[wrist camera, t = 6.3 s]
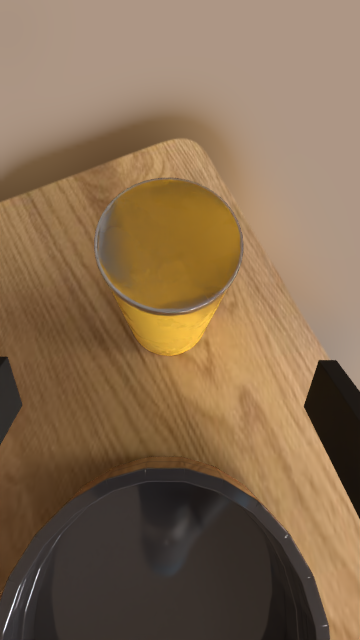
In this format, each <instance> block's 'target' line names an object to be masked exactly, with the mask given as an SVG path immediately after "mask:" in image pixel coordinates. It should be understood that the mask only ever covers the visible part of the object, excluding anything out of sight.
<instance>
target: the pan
mask: <svg viewBox="0 0 360 640" xmlns="http://www.w3.org/2000/svg"><path fill="white" fill-rule="evenodd" d="M0 640H330V634H329V625H328V621H327V618H326V614H325V611H324V608H323V605H322V602H321V598H320V595H319V592H318V589H317V585H316V582H315V579H314V576H313V574H312V572H311V570H310V569H309V567H308V565H307V563H306V561H305V560H304V558H303V556H302V554H301V553H300V551H299V549H298V547H297V546H296V544H295V542H294V540H293V539H292V537H291V535H290V534H289V533H288V531H287V530H286V529H285V528H284V527H283V526H282V525H281V524H280V523H279V521H278V520H277V519H276V518H275V517H274V516H273V515H272V514H271V513H270V512H269V511H268V510H267V508H266V507H265V506H264V505H263V504H262V503H261V502H260V501H259V500H258V499H257V498H256V497H255V496H254V495H253V494H252V492H251V491H250V490H249V489H248V488H247V487H246V486H245V485H244V484H242V483H241V482H239V481H238V480H236V479H234V478H233V477H231V476H230V475H228V474H226V473H225V472H223V471H222V470H220V469H218V468H217V467H214V466H212V465H209V464H206V463H202V462H199V461H195V460H192V459H188V458H185V457H146V458H142V459H139V460H135V461H132V462H128V463H125V464H121V465H118V466H115V467H113V468H112V469H110V470H108V471H107V472H105V473H103V474H102V475H100V476H98V477H97V478H95V479H93V480H92V481H90V482H88V483H87V484H85V485H84V486H83V487H82V488H81V489H80V490H79V491H78V492H77V493H76V494H75V495H74V496H73V497H72V498H71V499H70V500H69V501H68V502H67V503H66V504H65V505H64V506H63V507H62V508H61V509H60V510H59V511H58V512H57V513H56V514H55V515H54V516H53V517H52V518H51V519H50V520H49V521H48V522H47V523H46V524H45V525H44V526H43V527H42V528H41V529H40V530H39V531H38V532H37V533H36V535H35V536H34V537H33V539H32V541H31V542H30V544H29V545H28V547H27V549H26V550H25V552H24V553H23V555H22V557H21V558H20V560H19V561H18V563H17V565H16V566H15V568H14V569H13V571H12V573H11V574H10V576H9V578H8V580H7V583H6V585H5V588H4V591H3V594H2V597H1V599H0Z"/></svg>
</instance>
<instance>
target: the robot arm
mask: <svg viewBox="0 0 360 640" xmlns="http://www.w3.org/2000/svg"><path fill="white" fill-rule="evenodd" d="M21 407H22V402H21V398H20V395H19V392H18V389H17V385H16V382H15V379H14V376H13V373H12V369H11V366H10V363H9V360H8V357H0V444H1V443H2V441H3V439H4V437H5V435H6V434H7V432H8V430H9V428H10V427H11V425H12V423H13V421H14V419H15V418H16V416H17V414H18V412H19V410H20V409H21ZM304 408H305V410H306V412H307V414H308V416H309V418H310V420H311V422H312V424H313V426H314V428H315V430H316V432H317V434H318V436H319V438H320V440H321V442H322V444H323V446H324V448H325V450H326V452H327V454H328V456H329V458H330V460H331V462H332V464H333V466H334V468H335V470H336V472H337V474H338V476H339V478H340V480H341V482H342V484H343V486H344V488H345V490H346V492H347V494H348V496H349V498H350V500H351V502H352V504H353V506H354V508H355V510H356V512H357V514H358V516H359V518H360V391H359V390H358V389H357V387H356V386H355V385H354V383H353V382H352V381H351V379H350V378H349V377H348V375H347V374H346V373H345V371H344V370H343V369H342V367H341V366H340V365H339V363H338V362H337V361H336V360H319V362H318V365H317V368H316V371H315V374H314V377H313V380H312V383H311V386H310V389H309V392H308V395H307V398H306V401H305V404H304Z"/></svg>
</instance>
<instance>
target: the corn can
mask: <svg viewBox="0 0 360 640" xmlns="http://www.w3.org/2000/svg"><path fill="white" fill-rule="evenodd" d="M94 251H95V258H96V261H97V265H98V268H99V270H100V272H101V274H102V276H103V278H104V280H105V281H106V283H107V285H108V286H109V287H110V289H111V291H112V293H113V295H114V297H115V299H116V301H117V303H118V305H119V307H120V309H121V311H122V313H123V315H124V317H125V319H126V321H127V323H128V325H129V327H130V328H131V330H132V332H133V334H134V336H135V338H136V339H137V341H138V342H139V343H140V344H141V345H142V346H143V347H144V348H146V349H147V350H149V351H151V352H152V353H155V354H158V355H164V356H173V355H178V354H181V353H184V352H186V351H188V350H189V349H191V348H192V347H193V346H195V345H196V344H197V342H198V341H199V340H200V338H201V337H202V335H203V333H204V331H205V330H206V328H207V326H208V324H209V322H210V320H211V318H212V317H213V315H214V313H215V311H216V309H217V307H218V306H219V304H220V302H221V300H222V298H223V296H224V294H225V293H226V291H227V289H228V288H229V286H230V285H231V284H232V282H233V280H234V278H235V277H236V275H237V272H238V270H239V268H240V265H241V262H242V256H243V237H242V232H241V228H240V225H239V223H238V220H237V218H236V216H235V215H234V213H233V211H232V210H231V208H230V207H229V206H228V205H227V203H226V202H225V201H224V200H223V199H222V198H221V197H220V196H218V195H217V194H216V193H214V192H213V191H211V190H210V189H208V188H206V187H204V186H202V185H200V184H198V183H195V182H192V181H189V180H184V179H179V178H158V179H151V180H147V181H143V182H141V183H138V184H135V185H133V186H131V187H130V188H128V189H126V190H125V191H123V192H122V193H120V194H119V195H118V196H117V197H116V198H114V199H113V200H112V202H111V203H110V204H109V205H108V206H107V208H106V209H105V211H104V212H103V214H102V216H101V218H100V220H99V222H98V225H97V228H96V232H95V238H94Z"/></svg>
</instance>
